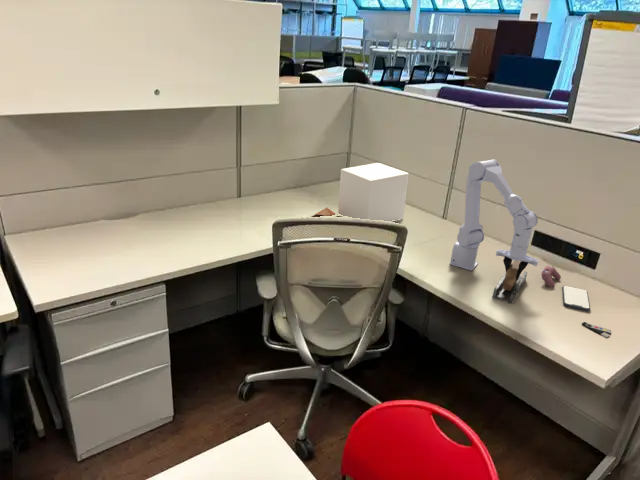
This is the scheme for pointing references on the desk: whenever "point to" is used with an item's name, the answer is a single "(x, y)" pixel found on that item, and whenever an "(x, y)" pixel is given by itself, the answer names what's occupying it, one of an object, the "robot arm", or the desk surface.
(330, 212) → the sunglasses case
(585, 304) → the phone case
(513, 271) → the brown rectangular block
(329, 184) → the desk surface
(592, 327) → the usb flash drive
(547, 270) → the video game controller
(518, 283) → the rail
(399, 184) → the cube
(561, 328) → the desk surface
